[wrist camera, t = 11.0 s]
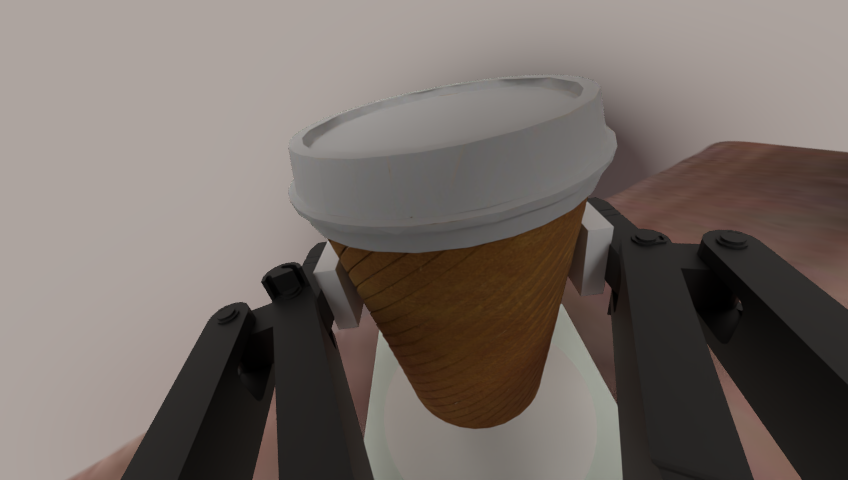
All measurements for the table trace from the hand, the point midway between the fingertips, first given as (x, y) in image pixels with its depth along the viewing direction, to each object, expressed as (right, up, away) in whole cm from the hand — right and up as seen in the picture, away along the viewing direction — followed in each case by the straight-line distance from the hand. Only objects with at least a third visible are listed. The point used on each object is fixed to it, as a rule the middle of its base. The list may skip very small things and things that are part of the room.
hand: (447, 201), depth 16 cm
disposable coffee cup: (+1, -8, -1) cm, 8 cm away
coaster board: (+2, -11, +2) cm, 12 cm away
